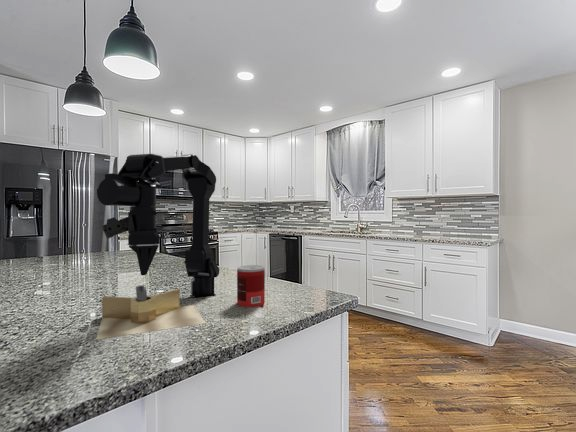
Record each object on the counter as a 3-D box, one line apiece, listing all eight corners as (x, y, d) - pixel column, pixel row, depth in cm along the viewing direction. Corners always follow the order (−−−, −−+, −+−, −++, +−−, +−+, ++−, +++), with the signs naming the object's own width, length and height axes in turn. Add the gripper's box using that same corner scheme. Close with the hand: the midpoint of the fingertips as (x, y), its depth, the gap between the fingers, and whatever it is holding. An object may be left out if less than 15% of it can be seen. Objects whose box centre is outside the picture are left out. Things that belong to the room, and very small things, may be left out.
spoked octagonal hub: (179, 307, 86) (179, 288, 86) (184, 317, 78) (184, 297, 78) (102, 316, 78) (102, 296, 78) (99, 329, 70) (98, 306, 70)
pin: (148, 316, 78) (145, 284, 77) (148, 319, 76) (146, 286, 75) (138, 318, 77) (135, 286, 76) (138, 321, 75) (135, 288, 74)
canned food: (268, 303, 93) (268, 265, 93) (257, 311, 85) (257, 270, 85) (245, 300, 95) (245, 264, 95) (232, 308, 88) (232, 268, 88)
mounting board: (193, 307, 88) (193, 304, 88) (205, 326, 74) (205, 322, 74) (102, 319, 78) (102, 316, 78) (96, 343, 64) (95, 339, 64)
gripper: (107, 206, 81) (107, 268, 81) (100, 205, 64) (100, 282, 64) (154, 207, 86) (154, 265, 86) (159, 206, 69) (159, 277, 69)
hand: (143, 271), depth 76 cm, fingers open, 9 cm apart
